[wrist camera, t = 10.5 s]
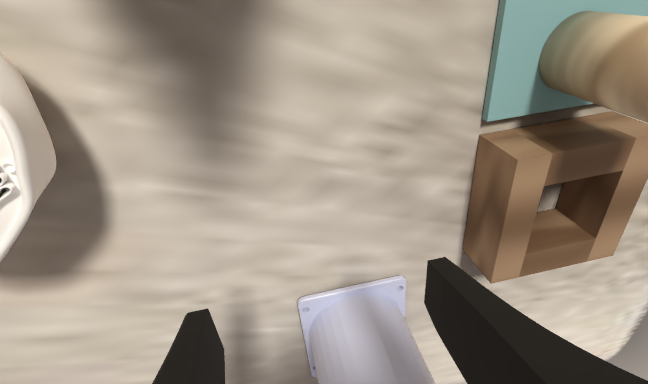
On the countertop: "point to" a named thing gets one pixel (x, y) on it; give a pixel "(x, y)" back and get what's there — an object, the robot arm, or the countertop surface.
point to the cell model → (20, 155)
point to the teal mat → (534, 54)
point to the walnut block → (574, 201)
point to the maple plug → (600, 60)
